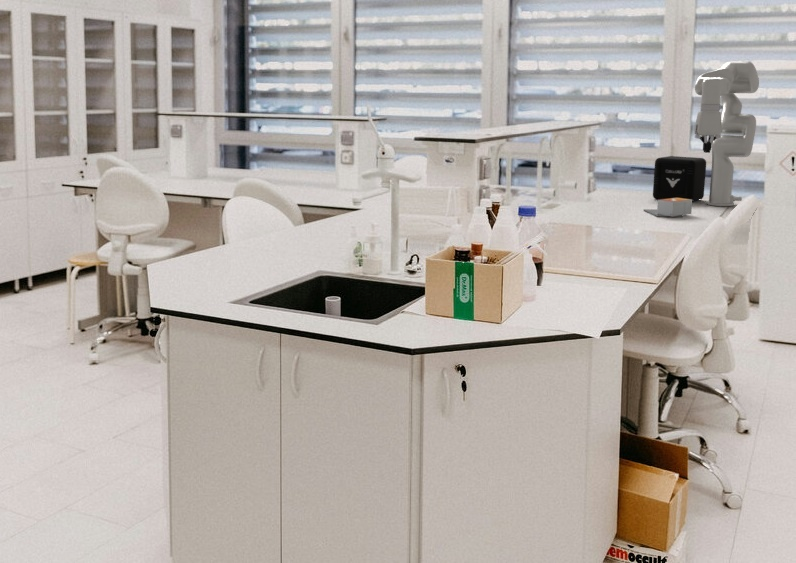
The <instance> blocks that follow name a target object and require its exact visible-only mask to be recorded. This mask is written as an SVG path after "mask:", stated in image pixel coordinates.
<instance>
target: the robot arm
mask: <svg viewBox="0 0 796 563" xmlns="http://www.w3.org/2000/svg"><path fill="white" fill-rule="evenodd" d="M759 86H760V78H759V75H758V71H757V68H756V66H755V65H754V63H753V62H751V61H745V60H744V61H739V60H738V61H734V60H733V61H726V62H724V63H723V64H722V65H721V67H719V68H718V69H716V70H711V71H708V72H705V73H702V74H700V75H699V77H697V79H696V80H695V83H694V91H695V93H696V95H698V96H701V99H700V100H701V101H700V110H699V111H698V112H697V115H696V120H695V126H694V134H695V136H694V138H695V139H698V140H700V141H701V142H702V151H703V153H708V154H709V153H711V172H710V182H709V185H710V186H709V196H708V197H709V198H708V200H706V201H705V202H704V204H705V205H707V204H708V206H713V207H716V206H717V207H732V206H735V201H737V202H742V200H743V197H742V196H735V195H733V194H732V192H733V183H734V182H733V180H734V169H735V168H734V163H733V162H732V160H731V159H730V158H747V157H750V156H751V153H752V150H753V145H754V140H755V135H756V130H757V119H756V116H755V115H754V114H752V113H751V114H750V113H742V109H743V103H742V101H741V100H740V98H739V97H737V95H736V94H754V93H756V92H757V91H758V90H759ZM721 103H722V105H721Z"/></svg>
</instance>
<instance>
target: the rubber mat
mask: <svg viewBox="0 0 796 563" xmlns="http://www.w3.org/2000/svg"><path fill="white" fill-rule="evenodd" d="M643 212H645V213H648V214H649V215H651V216H654V217H656V218H683V216H684V215H679V216H665V215H659V214H657V208H655V209H652V208H651V209H650V208H649V209H643Z"/></svg>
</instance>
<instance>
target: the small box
mask: <svg viewBox="0 0 796 563" xmlns="http://www.w3.org/2000/svg"><path fill="white" fill-rule="evenodd" d="M656 206H657V207H656V209H657V214H659V215H665V216H679V215H683V216H685V215H692V212H693V210H692V208H693V202H692V199H683V198H670V199H661V200H657V205H656Z"/></svg>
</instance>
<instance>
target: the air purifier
mask: <svg viewBox="0 0 796 563" xmlns="http://www.w3.org/2000/svg"><path fill="white" fill-rule="evenodd" d="M706 169H707V160H706V159H705V158H703V157H691V156H690V157H689V156H677V155H676V156H675V155H674V156H673V155H672V156H671V155H670V156H669V155H668V156H663V157H658V158H656V159H655V161H654V170H653V171H654V172H653V188H652V197H653V198H654V200H657V201H658V200H661V199H670V198H683V199H692V201H693V202H697V201H700V200H699V199H701V200H702V199H703V198H704V196H705V187H706V186H705V184H706V172H707V170H706ZM696 200H697V201H696Z"/></svg>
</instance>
